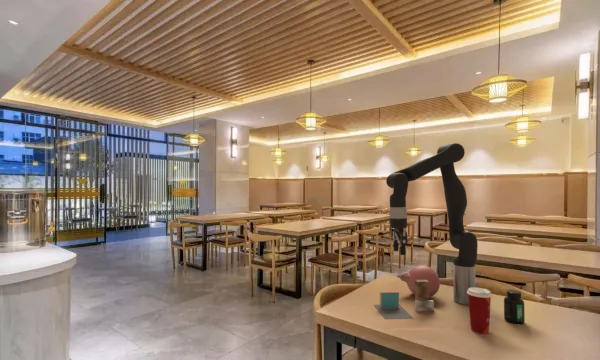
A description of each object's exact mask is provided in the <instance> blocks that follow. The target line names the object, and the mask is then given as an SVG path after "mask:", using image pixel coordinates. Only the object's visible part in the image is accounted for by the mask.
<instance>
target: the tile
mask: <svg viewBox="0 0 600 360" xmlns="http://www.w3.org/2000/svg"><path fill="white" fill-rule="evenodd" d="M399 304H400V293H399V291H398V290H380V291H379V305H380V308H381V309H395V308H399Z"/></svg>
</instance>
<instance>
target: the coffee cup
mask: <svg viewBox="0 0 600 360" xmlns="http://www.w3.org/2000/svg"><path fill="white" fill-rule="evenodd" d="M467 293H468V302H469V305H468V314H469V324H470V325H469V326H470V330H471V332H474V333H476V334H479V335H487V334H489V333H490V322H491V321H490V320H491V319H490V318H491V301H492V300H491V299H492V298H491V297H492V296H493V295H492V293H491V291H490V290H489V289H486V288H482V287H477V288H476V287H472V288H469V289H468V291H467Z"/></svg>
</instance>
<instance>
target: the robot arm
mask: <svg viewBox="0 0 600 360" xmlns="http://www.w3.org/2000/svg"><path fill="white" fill-rule="evenodd" d="M464 157H465V147H464V146H463V145H462V144H461V143H458V142H457V143H456V142H451V143H447V144H442V145H441V146H439V147H438V149H437V151H436V154H434V155H432V156H430V157H427V158H424V159H421V160H419V161H416V162H414V163H412V164H411V165H408V166H407V167H404V168H401V169H400V170H398V171H397V170H396V171H395V172H392V173H391V174H389V175H388V176H387V177H386V181H385V182H386V185H387V186H388V187H389V188H390V189H393V190H392V191H393V192H392V194H390V196H389V227H390V228H391V229H390V238H391V239H390V240H391V241H392V244H393V245H392V247H393V251H394V252H399V255H400V256H405V255H406V254H407V253H406V251H407V250H406V247H407V246H408V233H407V231H405V229H406V228H408V213H407V212H408V210H407V193H408V189H409V182H413V181H416V180H418V179H420V178H422V177H424V176H426V175H428V174H430V173H432V172H434V171H436V170H438V169H439V170H440V172H441V173H440V174H441V178H442V184H443V185H442V186H443V191H444V192H443V193H444V198H445V205H446V211H447V218H448V234H449V235H448V236H449V238H448V239H449V243H450V245H451V246H452V247H453V248H454V249H457V250H458V256H455V257H453V259H452V260H453V261H452V263H453V264H452V265H453V266H452V267H453V268H452V269H453V271H452V272H453V277H452V278H453V279H452V280H453V301H454V302H455V303H458V304H461V305H467V306H469V302H468V293H467V291H468V289H469V288H472V287H476V288H478V282H477V281H476V262H477V261H478V246H479V245H478V238H477V236H476V235H475V234H474V233H473V232H470V231H466V230H465V227H464V217H465V213H466V209H467V206H468V197H467V192H466V187H465V186H464V184H463V183H462V181H461V179H460V178H459V177H458V175H457V173H456V170H455V163H458V162H460V161H461V160H463V158H464Z"/></svg>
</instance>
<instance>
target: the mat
mask: <svg viewBox="0 0 600 360" xmlns="http://www.w3.org/2000/svg"><path fill="white" fill-rule="evenodd" d="M373 306H374V308H375V309H376V310H377V311H378V313H379V314H380V315H381V316H382V317H383V319H384V320H408V319H409V320H410V319H415V317H413V316H412V315H411V314H410V313H409V312H408V311H407V310H406V309H405V308H404V307H403V306H402V305H401V304H400V303H399V308H395V309H381V308H380V304H373Z"/></svg>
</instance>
